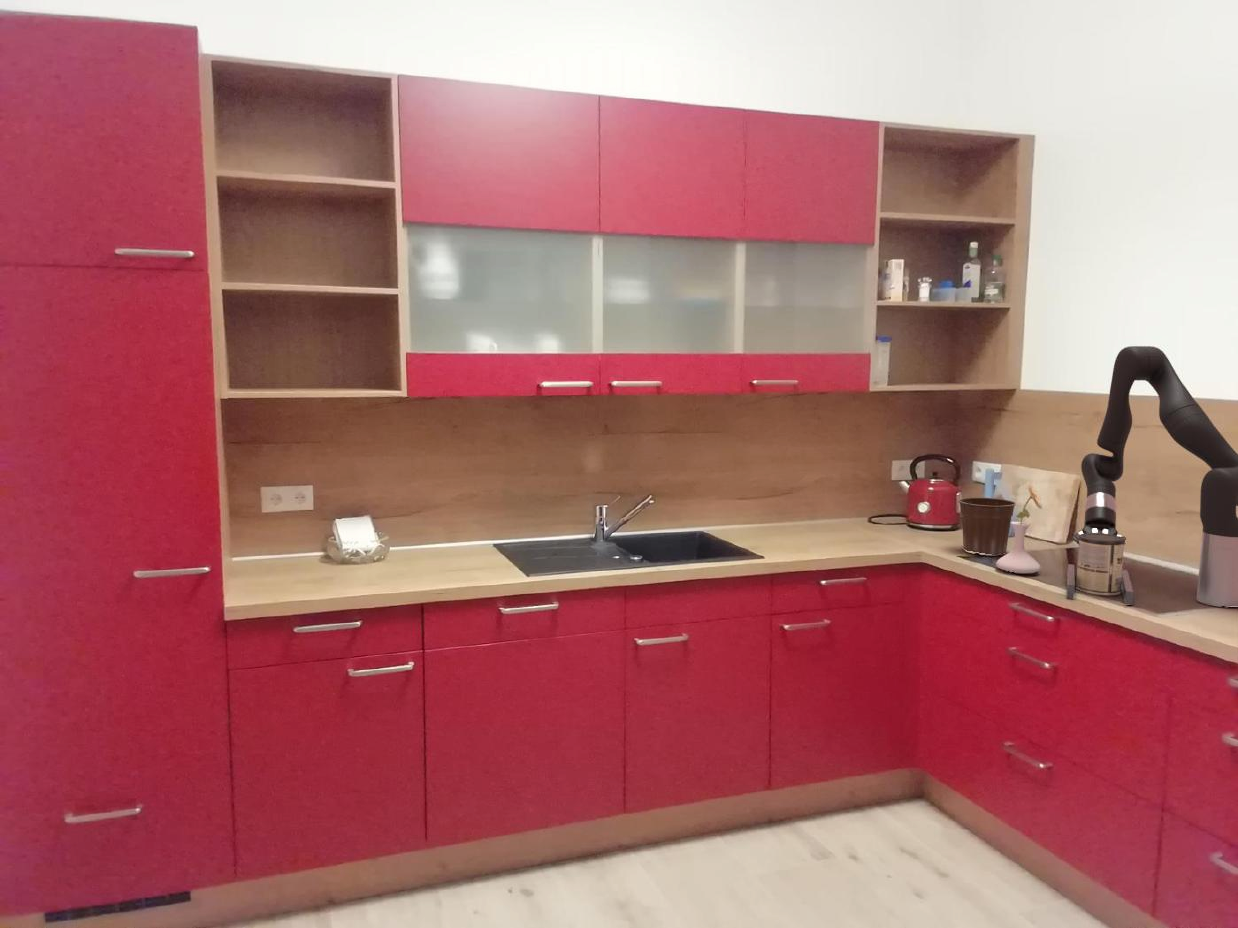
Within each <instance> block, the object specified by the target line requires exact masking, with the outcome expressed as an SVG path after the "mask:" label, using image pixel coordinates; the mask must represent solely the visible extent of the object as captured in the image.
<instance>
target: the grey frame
mask: <svg viewBox="0 0 1238 928" xmlns="http://www.w3.org/2000/svg"><path fill="white" fill-rule="evenodd" d="M1067 565H1068V566H1067V580H1066V582H1067V583H1066V599H1067V600H1068V599H1069V600H1074V599H1075V589H1076V582H1075V578H1076V577H1075V575H1076V574H1075V564H1069V563H1068V564H1067ZM1134 592H1135V591H1134V589H1133V586H1132V582H1131V577H1130V574H1129V571H1128V569H1122V579H1121V594H1122V597H1123V603H1124V605H1125V604H1130V605H1132V606H1134V605H1133V603H1134ZM1073 598H1074V599H1073Z"/></svg>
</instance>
